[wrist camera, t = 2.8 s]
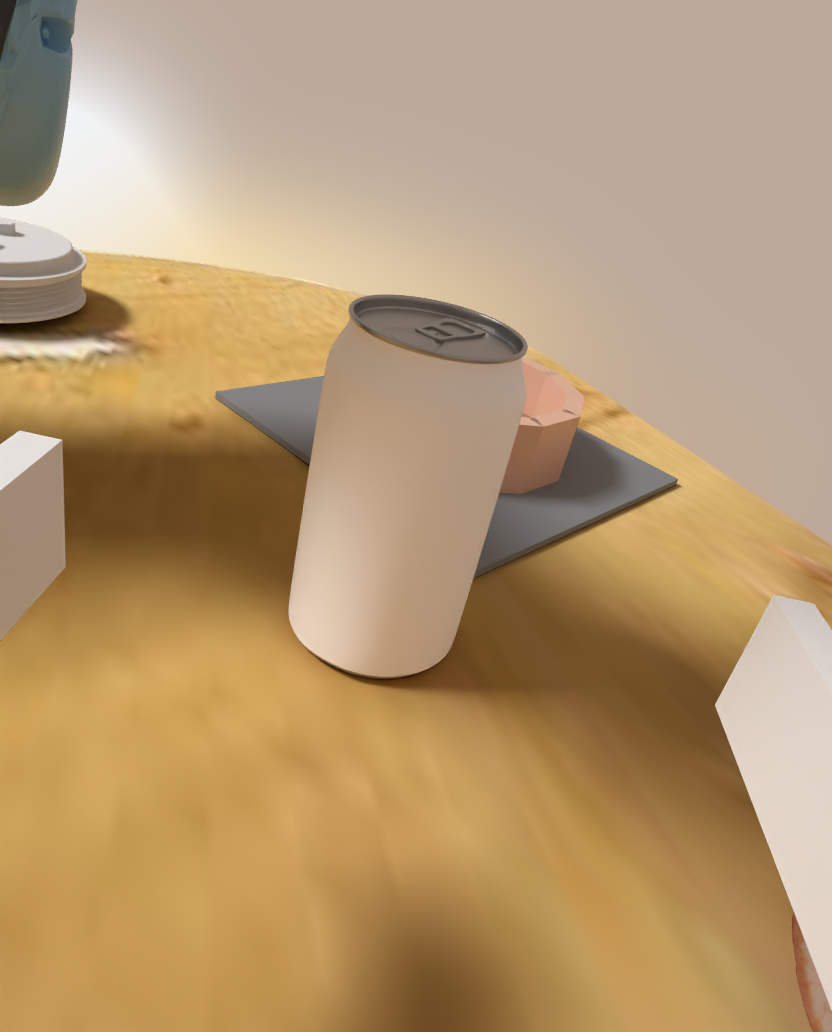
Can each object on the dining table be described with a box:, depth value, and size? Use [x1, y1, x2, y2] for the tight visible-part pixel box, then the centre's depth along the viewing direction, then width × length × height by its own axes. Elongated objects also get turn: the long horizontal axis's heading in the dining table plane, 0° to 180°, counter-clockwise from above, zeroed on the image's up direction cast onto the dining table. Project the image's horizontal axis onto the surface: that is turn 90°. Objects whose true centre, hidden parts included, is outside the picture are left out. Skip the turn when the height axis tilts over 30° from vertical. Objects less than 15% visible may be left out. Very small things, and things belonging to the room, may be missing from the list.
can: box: [288, 295, 528, 679], centre depth 26 cm, size 6×6×12 cm
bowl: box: [499, 356, 584, 494], centre depth 44 cm, size 13×13×4 cm
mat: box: [215, 376, 678, 578], centre depth 46 cm, size 20×20×1 cm
